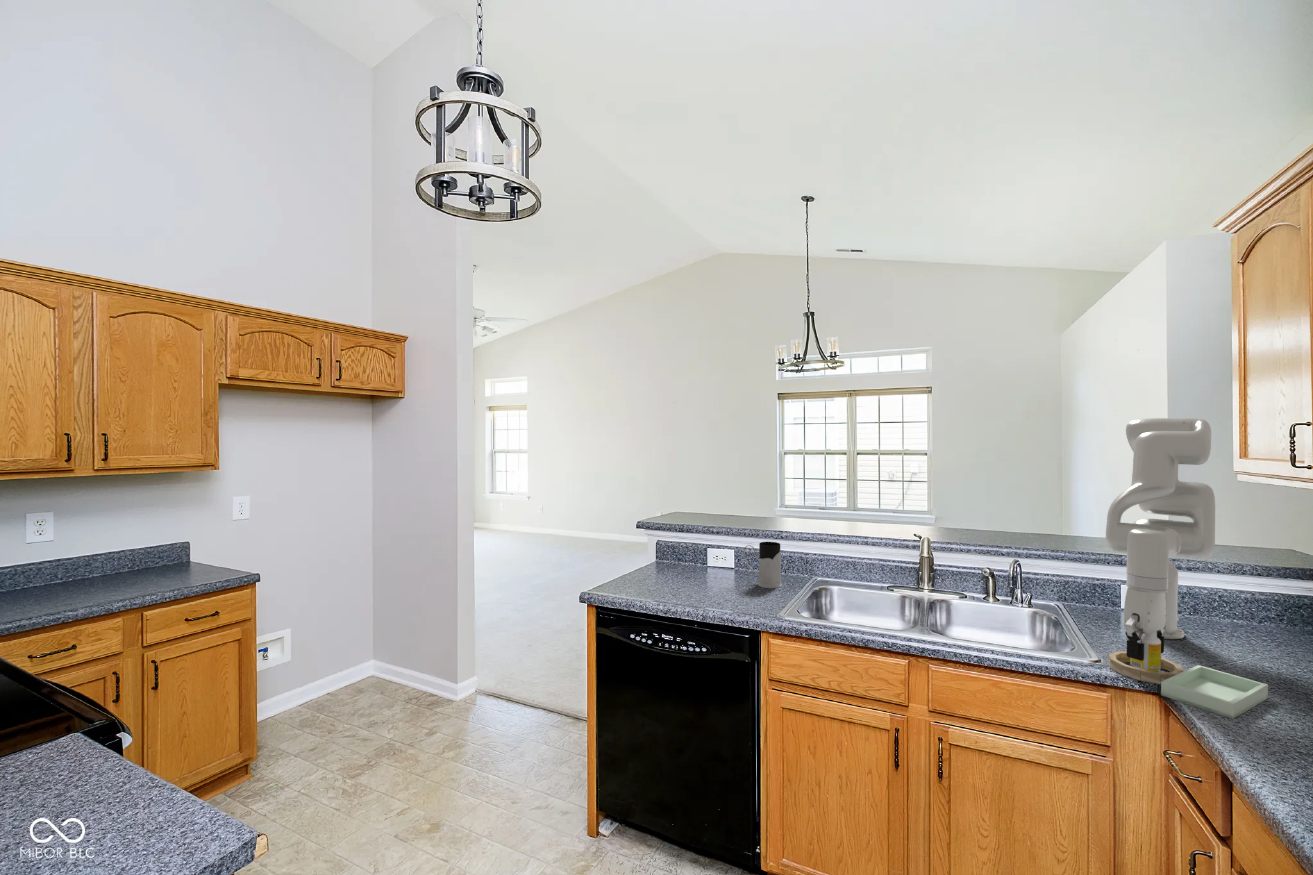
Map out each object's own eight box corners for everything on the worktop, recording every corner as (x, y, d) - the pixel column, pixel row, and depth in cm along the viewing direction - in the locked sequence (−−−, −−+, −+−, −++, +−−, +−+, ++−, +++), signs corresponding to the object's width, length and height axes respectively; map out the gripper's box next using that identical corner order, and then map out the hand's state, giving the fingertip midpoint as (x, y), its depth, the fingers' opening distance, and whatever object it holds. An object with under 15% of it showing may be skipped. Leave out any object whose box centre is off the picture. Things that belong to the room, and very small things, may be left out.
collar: (1125, 656, 149) (1126, 647, 149) (1193, 676, 137) (1194, 666, 137) (1098, 666, 142) (1098, 657, 142) (1166, 688, 131) (1167, 679, 131)
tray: (1197, 677, 136) (1198, 664, 136) (1267, 698, 126) (1268, 684, 126) (1161, 695, 128) (1161, 681, 128) (1232, 718, 118) (1233, 703, 117)
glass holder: (778, 589, 209) (778, 547, 208) (739, 584, 215) (740, 543, 215) (784, 583, 217) (784, 542, 216) (747, 578, 223) (747, 539, 222)
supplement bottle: (1161, 671, 140) (1162, 628, 140) (1159, 678, 136) (1160, 634, 136) (1131, 664, 144) (1131, 623, 143) (1128, 671, 140) (1129, 628, 139)
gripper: (1145, 574, 147) (1143, 643, 147) (1109, 583, 138) (1108, 656, 139) (1183, 581, 140) (1182, 653, 140) (1148, 591, 132) (1146, 667, 132)
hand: (1145, 654), depth 140 cm, fingers open, 9 cm apart
